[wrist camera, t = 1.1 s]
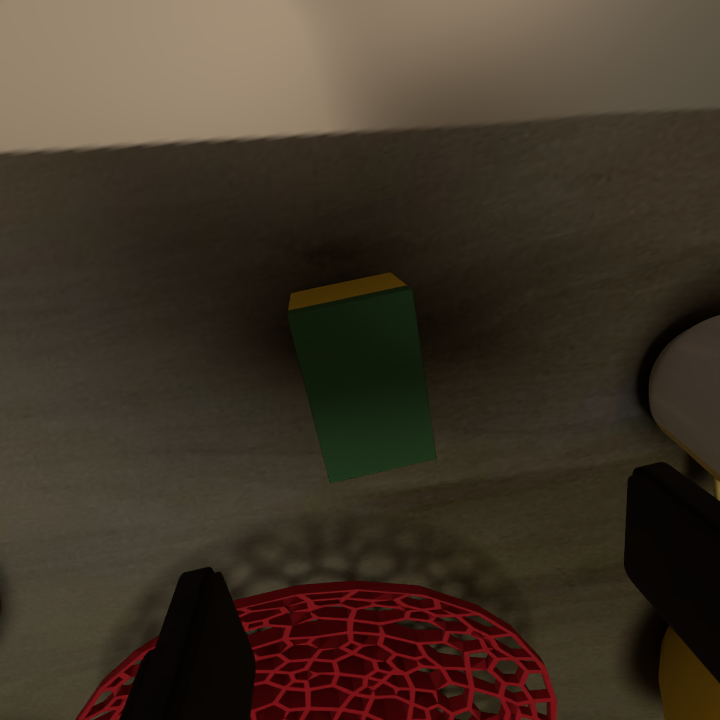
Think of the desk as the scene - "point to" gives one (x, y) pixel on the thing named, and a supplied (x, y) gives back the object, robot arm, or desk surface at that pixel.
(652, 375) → the mug
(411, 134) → the desk surface
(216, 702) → the robot arm
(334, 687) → the bowl
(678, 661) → the vase
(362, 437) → the sponge
